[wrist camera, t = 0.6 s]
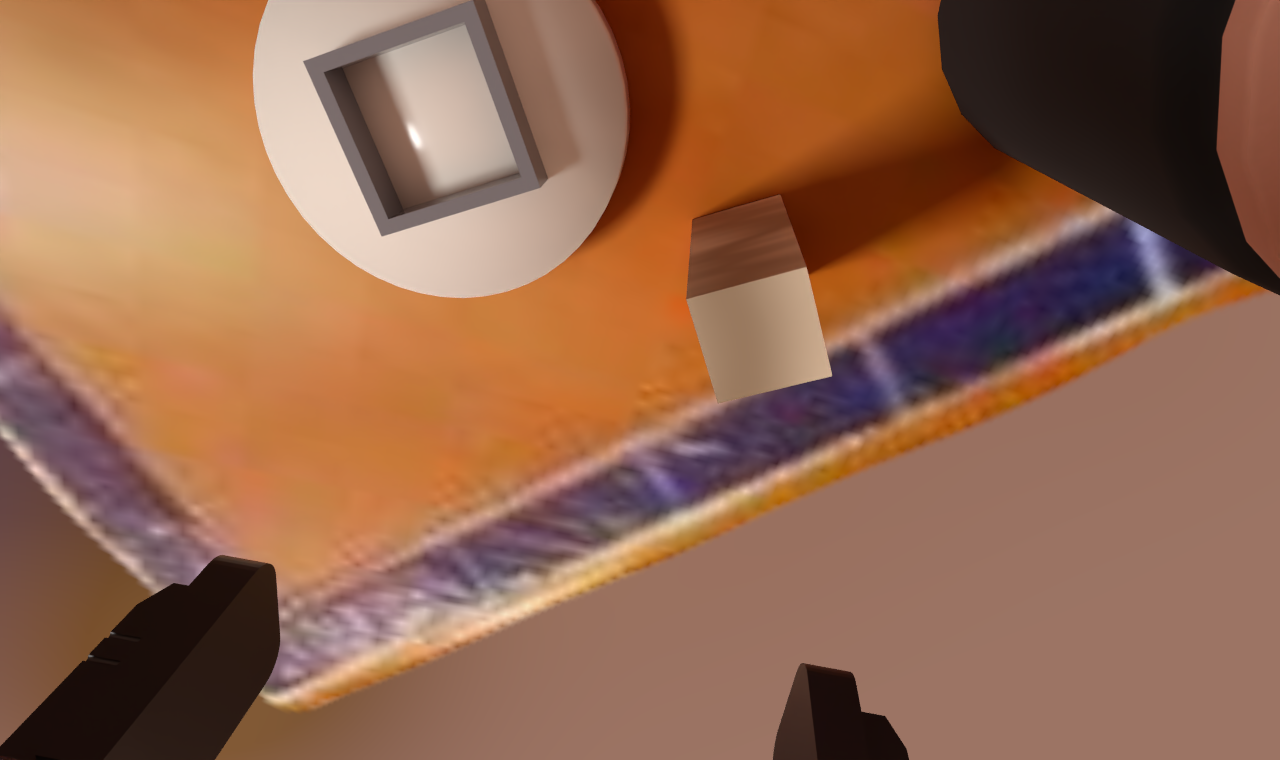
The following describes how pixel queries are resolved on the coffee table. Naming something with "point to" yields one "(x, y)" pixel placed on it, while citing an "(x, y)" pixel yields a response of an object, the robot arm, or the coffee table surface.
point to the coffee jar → (1136, 110)
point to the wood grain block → (753, 301)
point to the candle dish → (444, 132)
